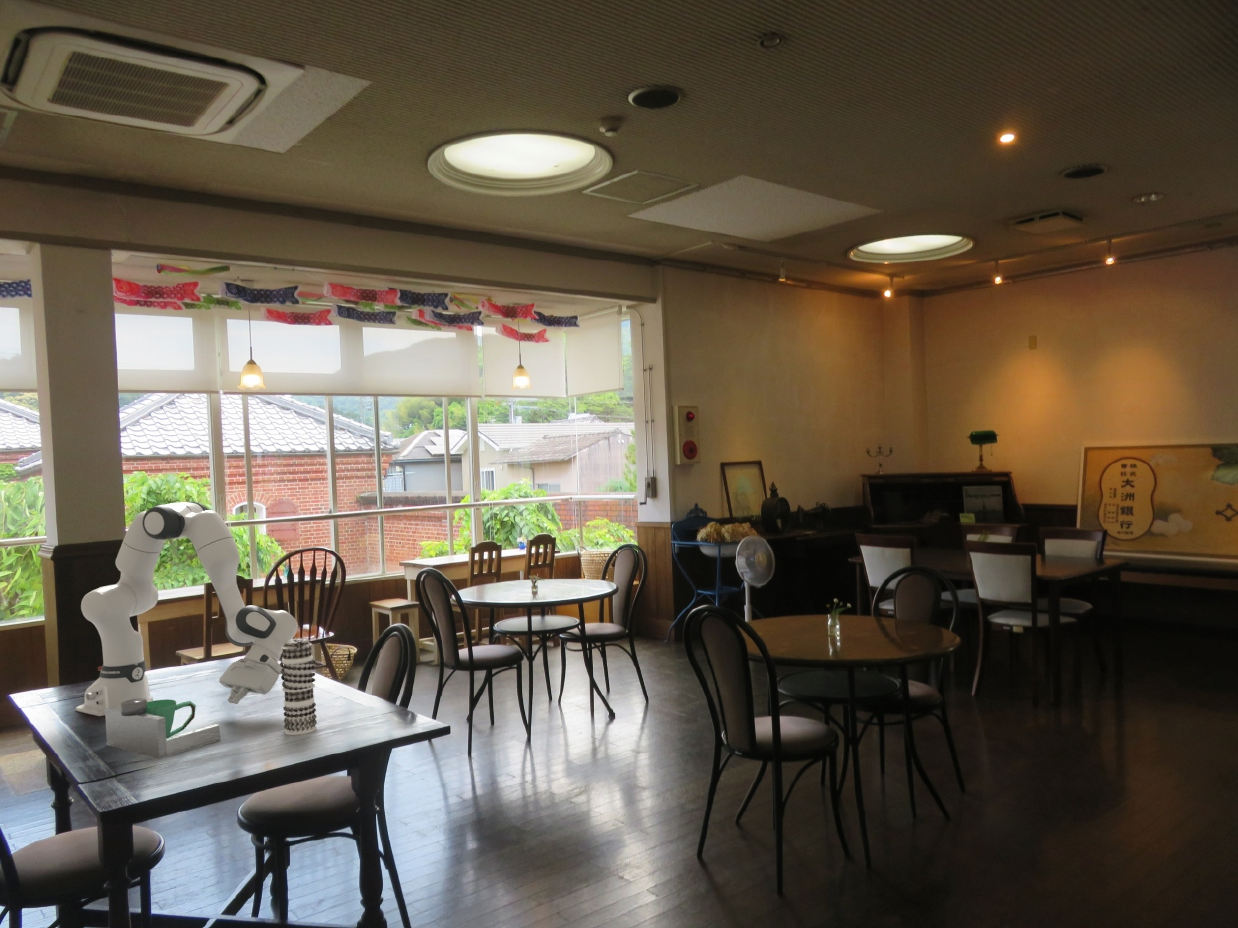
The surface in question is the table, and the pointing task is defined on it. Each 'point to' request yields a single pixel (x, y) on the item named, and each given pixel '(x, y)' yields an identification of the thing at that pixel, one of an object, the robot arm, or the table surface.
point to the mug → (170, 713)
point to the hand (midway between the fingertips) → (231, 702)
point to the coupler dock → (150, 731)
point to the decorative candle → (298, 687)
